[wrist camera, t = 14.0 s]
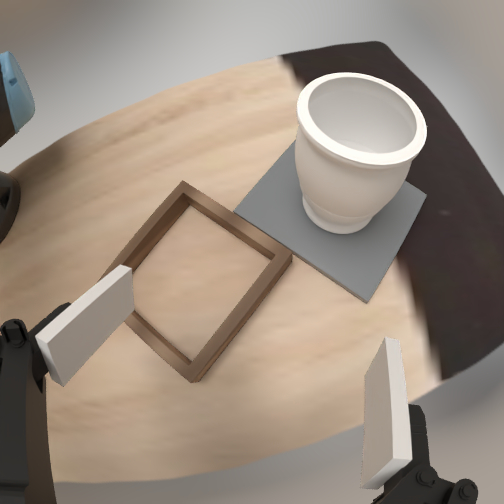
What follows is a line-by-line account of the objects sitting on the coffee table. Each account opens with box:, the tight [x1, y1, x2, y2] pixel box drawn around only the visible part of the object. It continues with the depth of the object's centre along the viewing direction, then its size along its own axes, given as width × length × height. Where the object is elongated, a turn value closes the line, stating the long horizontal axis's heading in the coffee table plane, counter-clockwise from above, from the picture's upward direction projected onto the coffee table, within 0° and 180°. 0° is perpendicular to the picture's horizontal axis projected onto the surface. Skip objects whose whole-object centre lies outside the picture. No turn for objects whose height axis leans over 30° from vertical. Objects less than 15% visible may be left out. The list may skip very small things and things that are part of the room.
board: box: [233, 140, 427, 303], centre depth 36 cm, size 18×16×1 cm
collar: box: [96, 181, 292, 383], centre depth 34 cm, size 15×16×3 cm
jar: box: [295, 73, 427, 234], centre depth 29 cm, size 11×10×15 cm
